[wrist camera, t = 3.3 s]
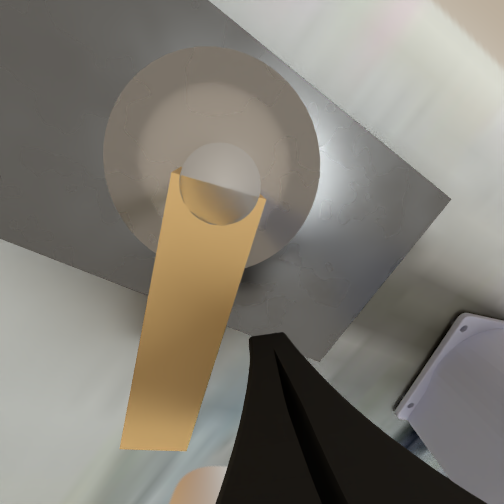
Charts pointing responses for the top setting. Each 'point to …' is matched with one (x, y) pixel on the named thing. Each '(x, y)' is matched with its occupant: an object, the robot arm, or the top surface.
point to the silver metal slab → (182, 146)
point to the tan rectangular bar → (191, 292)
